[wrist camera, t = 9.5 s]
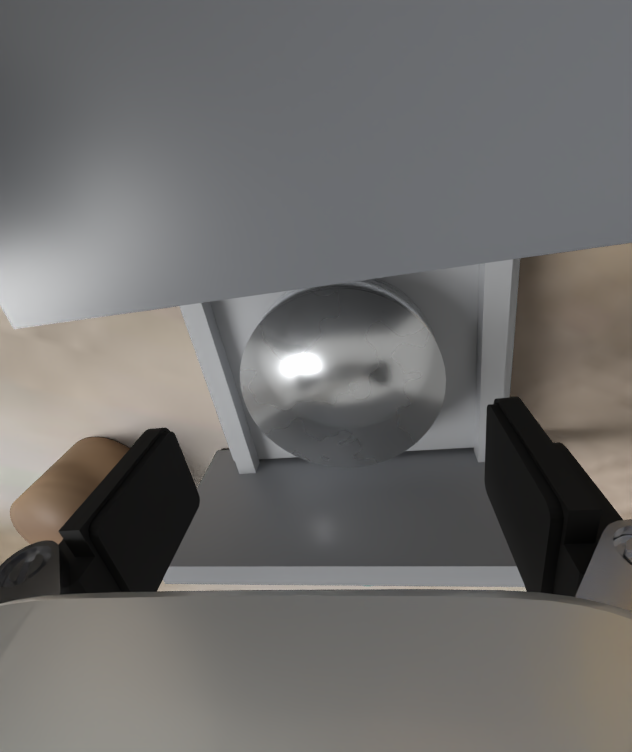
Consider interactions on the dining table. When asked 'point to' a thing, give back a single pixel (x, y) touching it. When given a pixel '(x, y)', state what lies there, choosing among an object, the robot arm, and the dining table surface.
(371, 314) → the silver round disc
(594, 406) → the dining table surface
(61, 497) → the brown rounded lump
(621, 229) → the housing
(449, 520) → the grey drawer
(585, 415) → the dining table surface
